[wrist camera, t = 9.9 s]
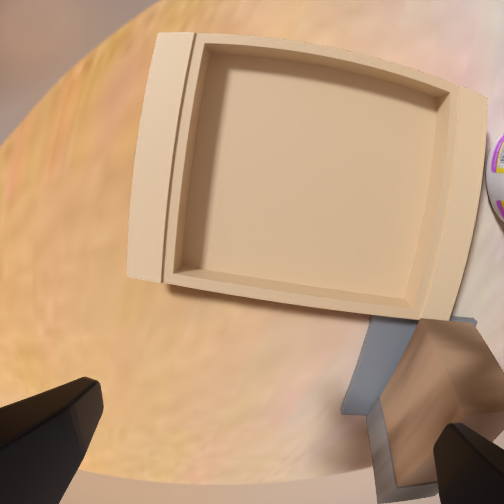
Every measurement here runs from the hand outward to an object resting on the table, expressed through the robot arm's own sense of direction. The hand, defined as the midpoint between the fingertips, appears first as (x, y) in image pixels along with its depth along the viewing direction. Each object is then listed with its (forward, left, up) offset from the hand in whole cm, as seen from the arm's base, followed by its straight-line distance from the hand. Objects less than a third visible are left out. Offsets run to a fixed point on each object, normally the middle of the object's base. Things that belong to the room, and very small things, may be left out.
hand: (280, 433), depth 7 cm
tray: (-1, -6, -12) cm, 13 cm away
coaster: (-10, +5, -12) cm, 16 cm away
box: (-10, +5, -10) cm, 15 cm away
